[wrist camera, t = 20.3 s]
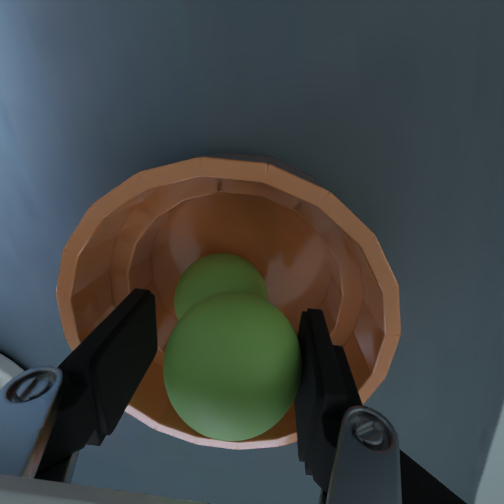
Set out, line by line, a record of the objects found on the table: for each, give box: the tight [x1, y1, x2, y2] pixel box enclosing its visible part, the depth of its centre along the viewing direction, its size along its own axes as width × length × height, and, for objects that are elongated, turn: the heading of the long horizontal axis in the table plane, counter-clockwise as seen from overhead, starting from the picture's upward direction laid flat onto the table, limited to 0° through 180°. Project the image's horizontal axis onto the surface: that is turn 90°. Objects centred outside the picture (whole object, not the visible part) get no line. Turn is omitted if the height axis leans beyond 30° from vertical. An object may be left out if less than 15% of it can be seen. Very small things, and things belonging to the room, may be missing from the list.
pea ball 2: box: [163, 292, 302, 441], centre depth 9 cm, size 5×5×5 cm
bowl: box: [56, 152, 401, 450], centre depth 13 cm, size 13×13×6 cm
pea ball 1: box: [174, 253, 268, 321], centre depth 14 cm, size 5×5×5 cm
